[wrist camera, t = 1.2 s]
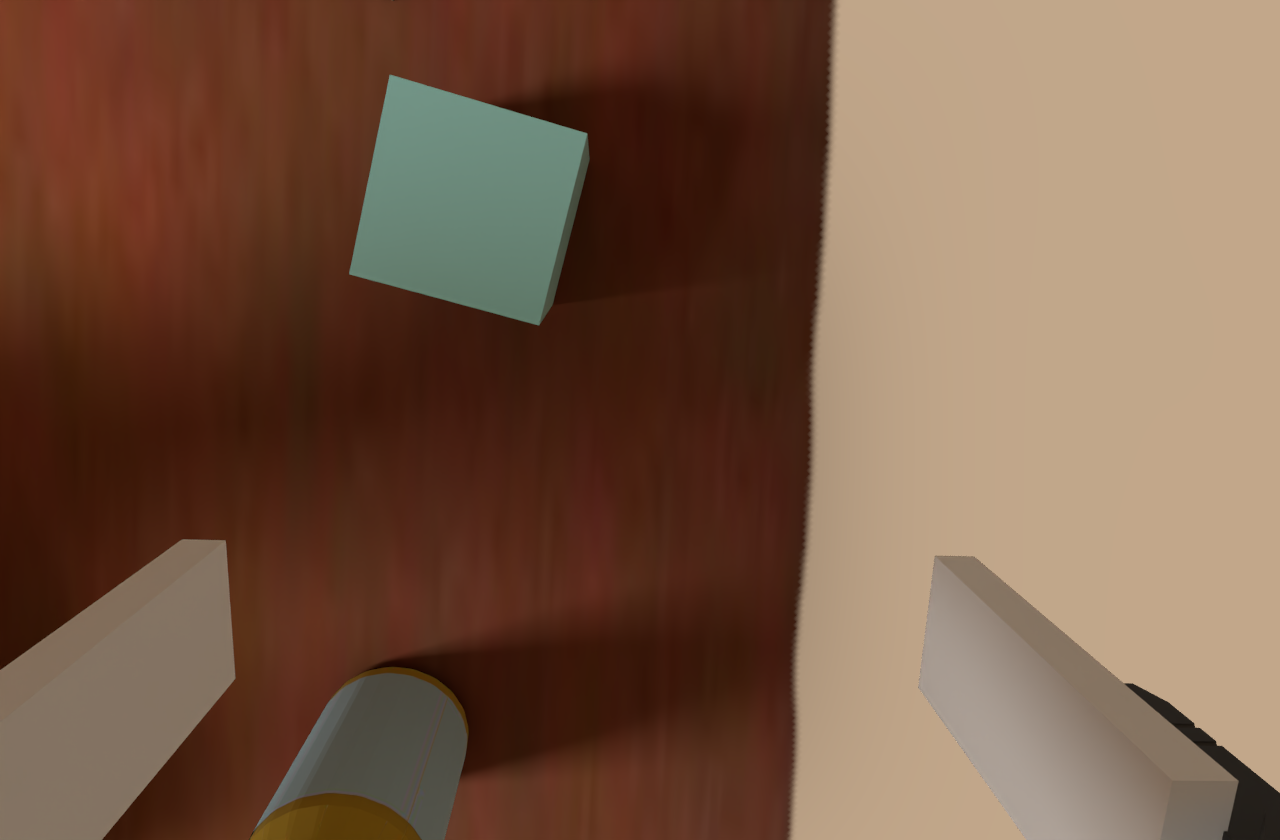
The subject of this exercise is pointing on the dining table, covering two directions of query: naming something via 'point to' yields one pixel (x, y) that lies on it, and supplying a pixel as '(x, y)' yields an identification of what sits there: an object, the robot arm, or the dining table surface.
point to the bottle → (374, 764)
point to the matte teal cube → (469, 202)
